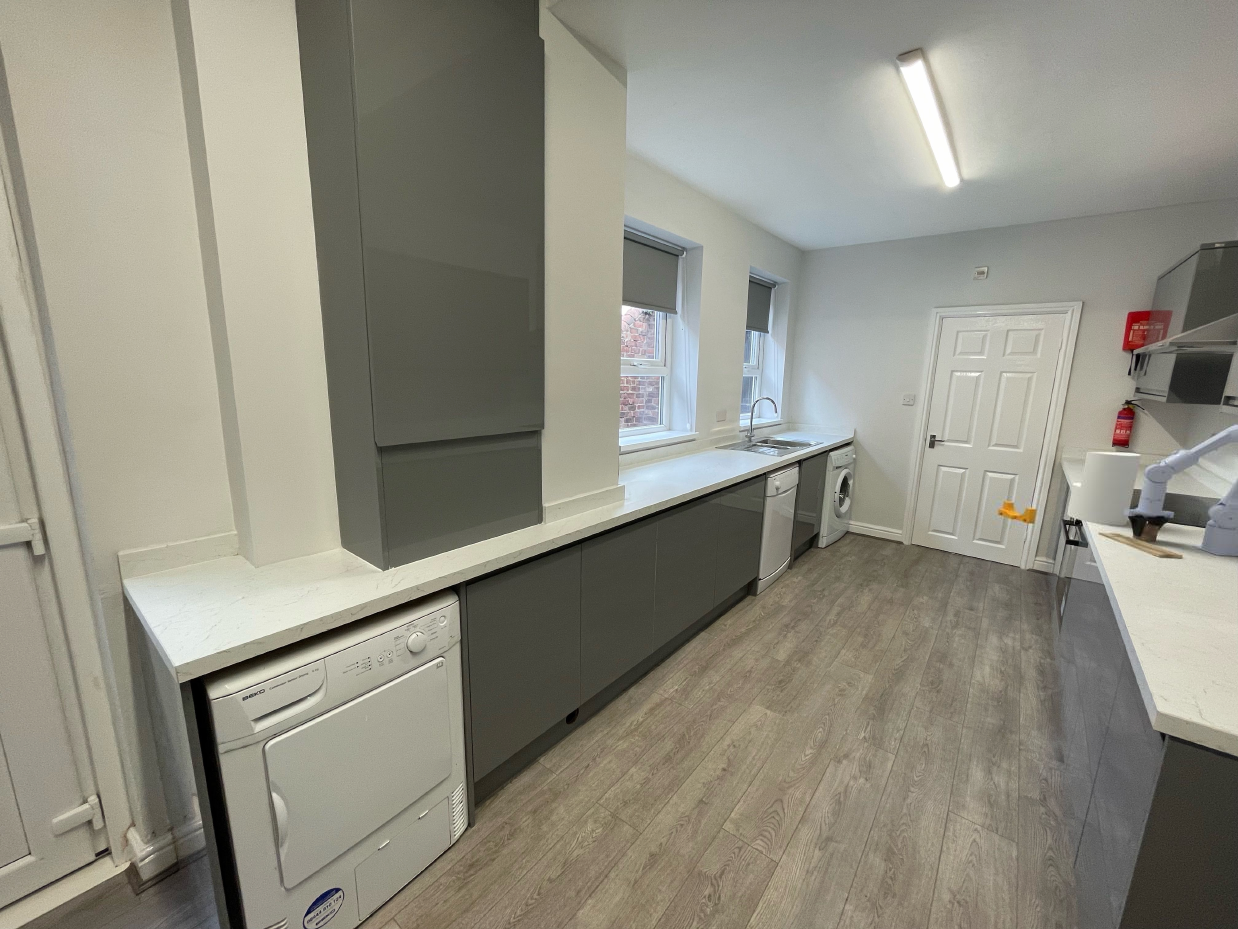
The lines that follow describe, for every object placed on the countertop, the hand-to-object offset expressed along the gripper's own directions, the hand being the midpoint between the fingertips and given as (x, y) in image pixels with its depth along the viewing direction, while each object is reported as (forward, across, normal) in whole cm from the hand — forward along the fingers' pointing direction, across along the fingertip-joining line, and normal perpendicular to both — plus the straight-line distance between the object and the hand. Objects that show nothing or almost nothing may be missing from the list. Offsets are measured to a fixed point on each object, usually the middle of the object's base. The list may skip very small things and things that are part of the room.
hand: (1143, 536), depth 173 cm
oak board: (+2, +8, +7) cm, 11 cm away
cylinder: (+2, -5, -25) cm, 26 cm away
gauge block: (+2, 0, 0) cm, 2 cm away
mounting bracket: (+2, +29, -20) cm, 36 cm away
